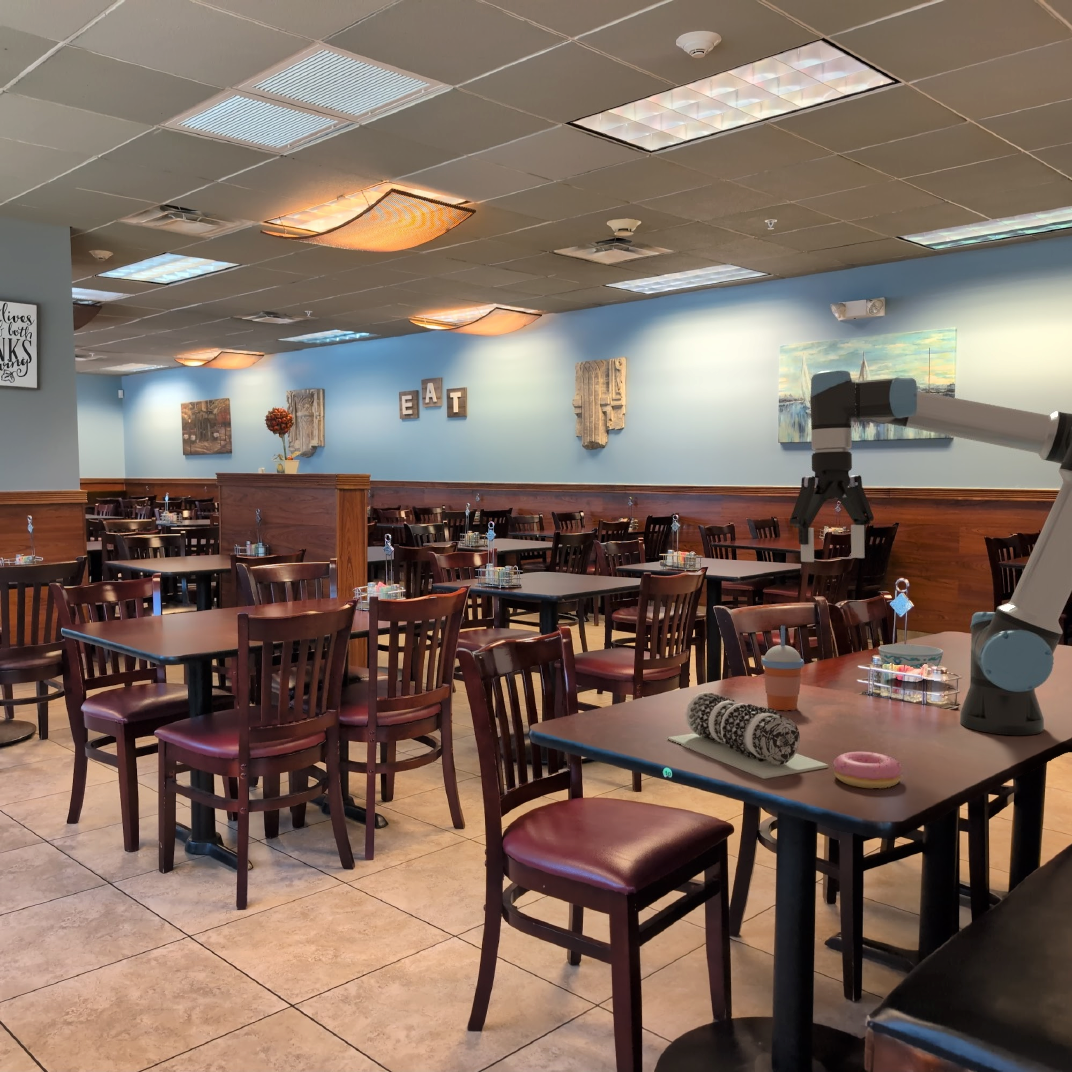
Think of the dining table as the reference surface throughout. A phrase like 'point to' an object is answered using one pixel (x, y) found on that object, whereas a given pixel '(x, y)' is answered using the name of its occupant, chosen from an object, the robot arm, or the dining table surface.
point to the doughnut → (867, 769)
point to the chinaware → (910, 655)
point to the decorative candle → (743, 727)
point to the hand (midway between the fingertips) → (833, 559)
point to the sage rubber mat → (746, 758)
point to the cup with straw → (782, 675)
